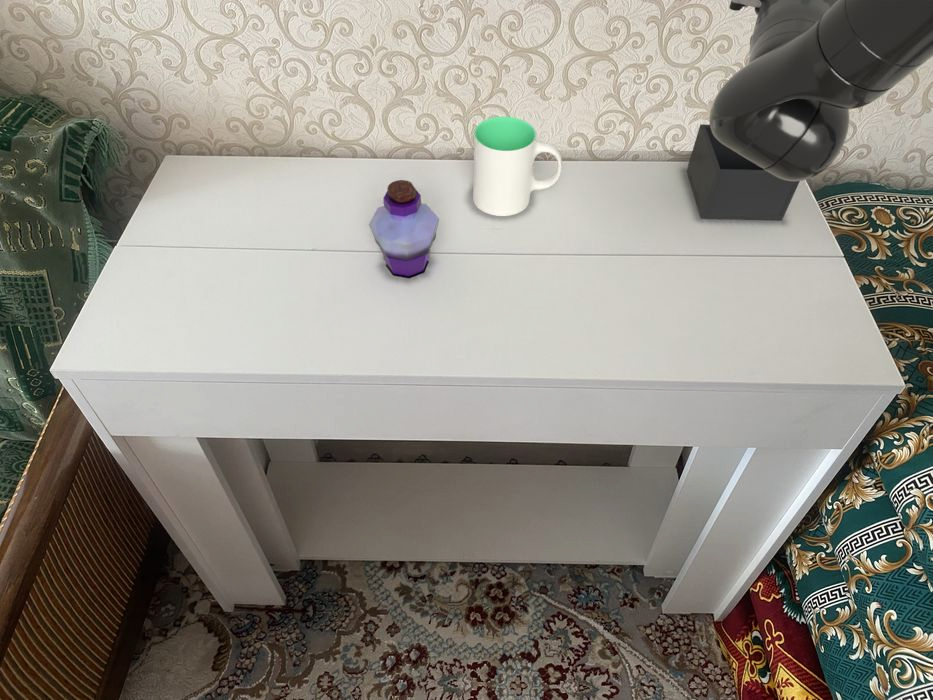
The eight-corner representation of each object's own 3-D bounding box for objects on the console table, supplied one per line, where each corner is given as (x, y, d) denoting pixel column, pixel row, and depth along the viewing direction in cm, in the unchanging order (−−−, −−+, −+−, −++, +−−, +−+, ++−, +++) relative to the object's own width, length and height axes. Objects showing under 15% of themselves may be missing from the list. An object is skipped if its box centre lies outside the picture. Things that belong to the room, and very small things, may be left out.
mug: (554, 180, 100) (562, 116, 92) (560, 215, 95) (569, 150, 87) (472, 181, 100) (473, 116, 92) (473, 216, 95) (475, 151, 87)
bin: (761, 172, 102) (780, 125, 96) (781, 220, 95) (803, 173, 89) (686, 171, 102) (700, 124, 96) (700, 219, 95) (716, 171, 89)
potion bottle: (454, 259, 89) (453, 182, 80) (411, 296, 85) (405, 220, 76) (403, 233, 92) (397, 156, 83) (360, 267, 88) (348, 190, 79)
